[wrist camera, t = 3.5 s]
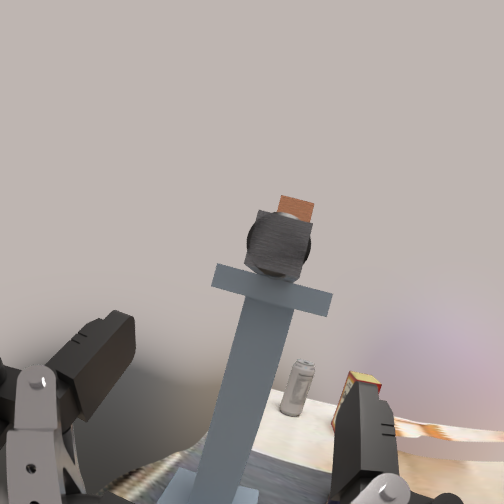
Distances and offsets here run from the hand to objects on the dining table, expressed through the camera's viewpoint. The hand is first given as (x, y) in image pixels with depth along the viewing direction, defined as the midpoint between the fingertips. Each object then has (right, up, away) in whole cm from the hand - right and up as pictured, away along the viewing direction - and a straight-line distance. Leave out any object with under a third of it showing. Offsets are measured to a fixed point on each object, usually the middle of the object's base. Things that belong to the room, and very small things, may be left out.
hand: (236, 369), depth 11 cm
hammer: (+2, +1, +18) cm, 18 cm away
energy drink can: (+11, -39, +68) cm, 80 cm away
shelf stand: (-5, -30, +21) cm, 37 cm away
